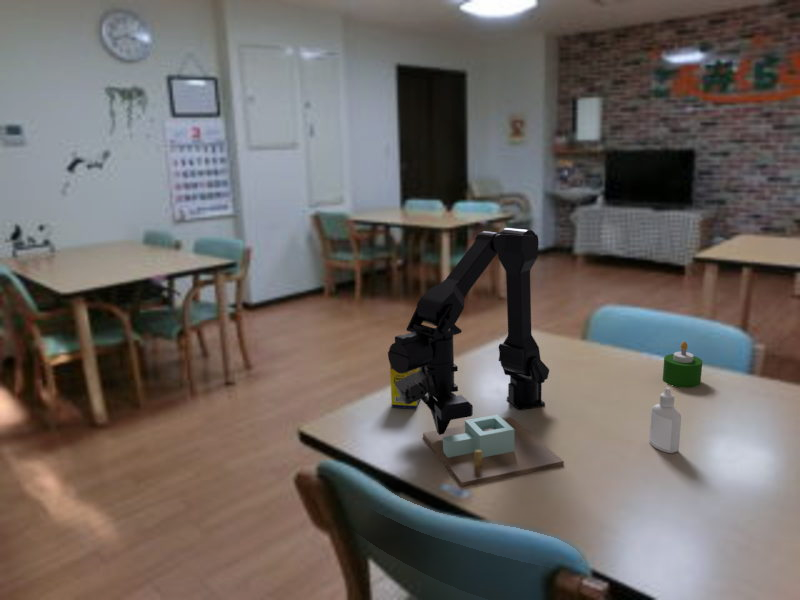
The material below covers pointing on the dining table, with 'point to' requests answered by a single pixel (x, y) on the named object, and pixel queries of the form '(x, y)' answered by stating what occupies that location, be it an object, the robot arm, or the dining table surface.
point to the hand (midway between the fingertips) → (440, 433)
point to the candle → (682, 369)
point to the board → (495, 456)
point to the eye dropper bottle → (665, 424)
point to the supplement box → (395, 396)
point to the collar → (481, 438)
